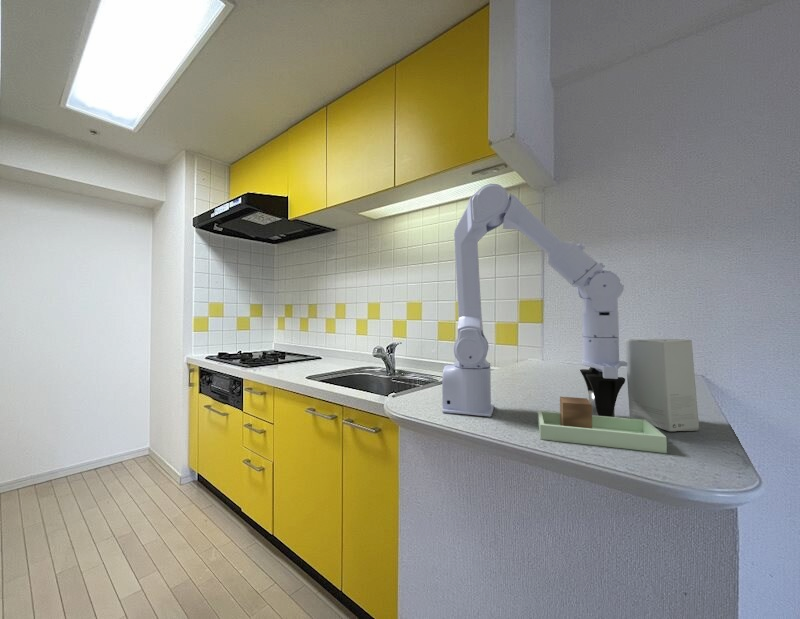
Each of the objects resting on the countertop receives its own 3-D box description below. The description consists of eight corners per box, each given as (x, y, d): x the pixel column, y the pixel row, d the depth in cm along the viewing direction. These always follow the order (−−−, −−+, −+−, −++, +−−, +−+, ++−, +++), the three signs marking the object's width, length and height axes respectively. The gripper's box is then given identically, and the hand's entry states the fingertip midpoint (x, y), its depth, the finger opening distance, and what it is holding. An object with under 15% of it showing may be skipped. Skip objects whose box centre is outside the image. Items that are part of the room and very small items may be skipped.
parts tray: (540, 439, 51) (540, 424, 51) (538, 423, 59) (537, 410, 59) (666, 453, 46) (666, 437, 46) (646, 433, 53) (645, 419, 53)
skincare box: (700, 431, 54) (697, 339, 54) (667, 433, 53) (665, 340, 54) (653, 415, 62) (652, 336, 63) (625, 417, 62) (623, 337, 62)
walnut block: (563, 434, 52) (562, 402, 52) (560, 426, 56) (559, 396, 56) (592, 437, 50) (591, 404, 51) (587, 429, 54) (586, 398, 54)
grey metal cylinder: (591, 421, 59) (590, 393, 59) (587, 415, 63) (586, 389, 63) (617, 424, 58) (616, 395, 58) (611, 417, 62) (611, 390, 62)
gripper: (639, 340, 53) (641, 426, 52) (614, 334, 66) (616, 403, 66) (588, 339, 55) (590, 421, 55) (575, 334, 69) (576, 400, 68)
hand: (601, 411), depth 60 cm, fingers open, 4 cm apart
